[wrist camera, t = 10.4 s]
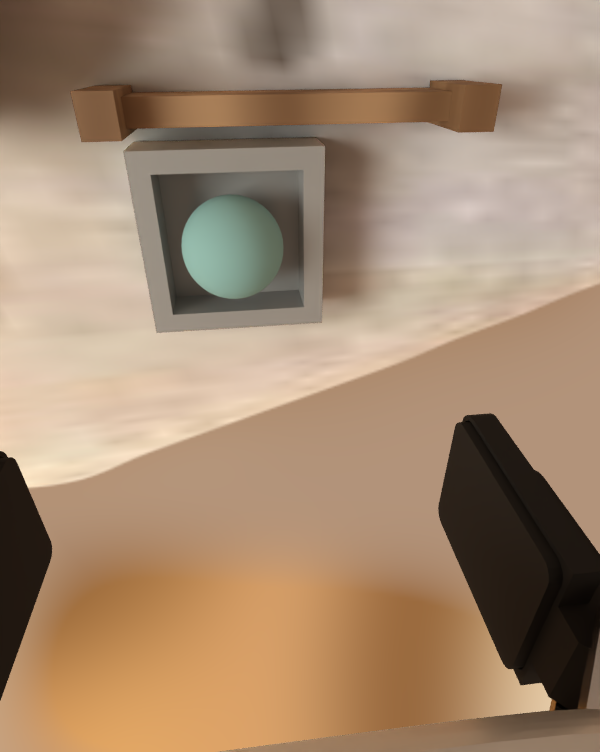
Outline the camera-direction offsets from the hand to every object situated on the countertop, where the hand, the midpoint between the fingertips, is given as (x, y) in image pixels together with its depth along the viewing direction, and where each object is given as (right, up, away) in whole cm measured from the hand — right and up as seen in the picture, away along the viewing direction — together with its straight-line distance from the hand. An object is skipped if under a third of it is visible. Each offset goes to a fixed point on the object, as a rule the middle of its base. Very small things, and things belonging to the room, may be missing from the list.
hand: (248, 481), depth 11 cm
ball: (-2, +10, +16) cm, 19 cm away
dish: (-3, +10, +16) cm, 20 cm away
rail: (0, +16, +13) cm, 21 cm away
